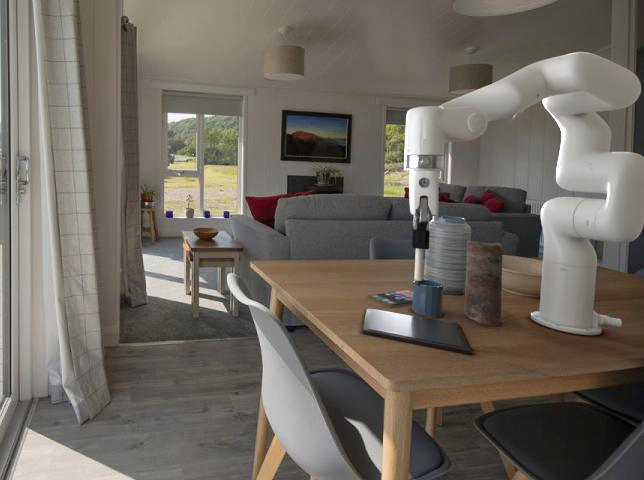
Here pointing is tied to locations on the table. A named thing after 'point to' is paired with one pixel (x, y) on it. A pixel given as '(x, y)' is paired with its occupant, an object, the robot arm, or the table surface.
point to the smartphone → (395, 297)
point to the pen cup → (427, 298)
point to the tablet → (415, 330)
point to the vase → (447, 253)
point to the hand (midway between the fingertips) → (419, 247)
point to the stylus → (418, 266)
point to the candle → (483, 282)
